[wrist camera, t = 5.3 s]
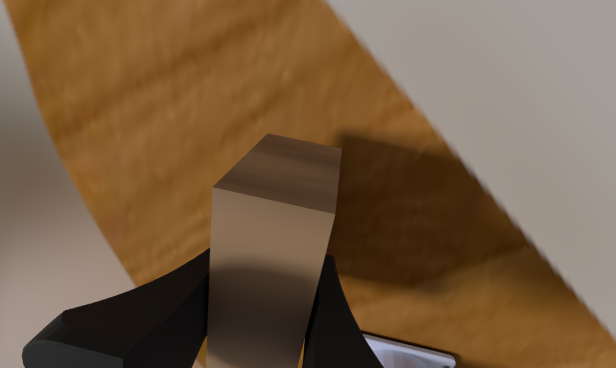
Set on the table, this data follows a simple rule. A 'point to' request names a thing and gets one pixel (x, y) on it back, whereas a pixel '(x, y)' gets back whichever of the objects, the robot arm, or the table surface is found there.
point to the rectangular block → (269, 251)
